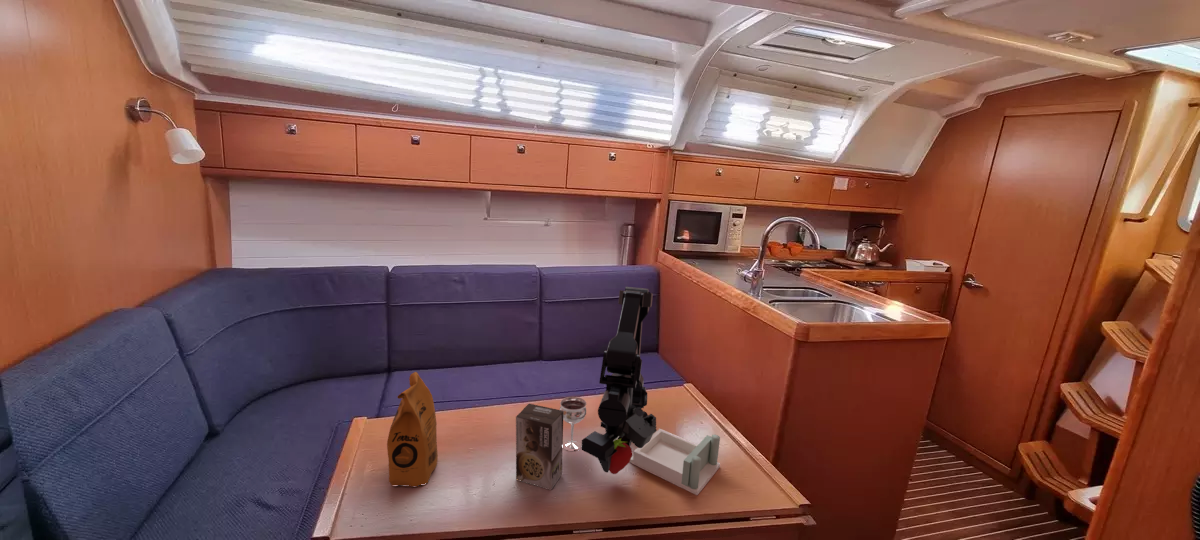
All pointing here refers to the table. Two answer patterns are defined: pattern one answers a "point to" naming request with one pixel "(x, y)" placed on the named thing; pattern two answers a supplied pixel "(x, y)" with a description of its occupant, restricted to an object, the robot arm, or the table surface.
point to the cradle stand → (679, 459)
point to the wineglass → (573, 415)
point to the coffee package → (413, 436)
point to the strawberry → (620, 456)
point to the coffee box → (539, 445)
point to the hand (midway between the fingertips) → (614, 464)
